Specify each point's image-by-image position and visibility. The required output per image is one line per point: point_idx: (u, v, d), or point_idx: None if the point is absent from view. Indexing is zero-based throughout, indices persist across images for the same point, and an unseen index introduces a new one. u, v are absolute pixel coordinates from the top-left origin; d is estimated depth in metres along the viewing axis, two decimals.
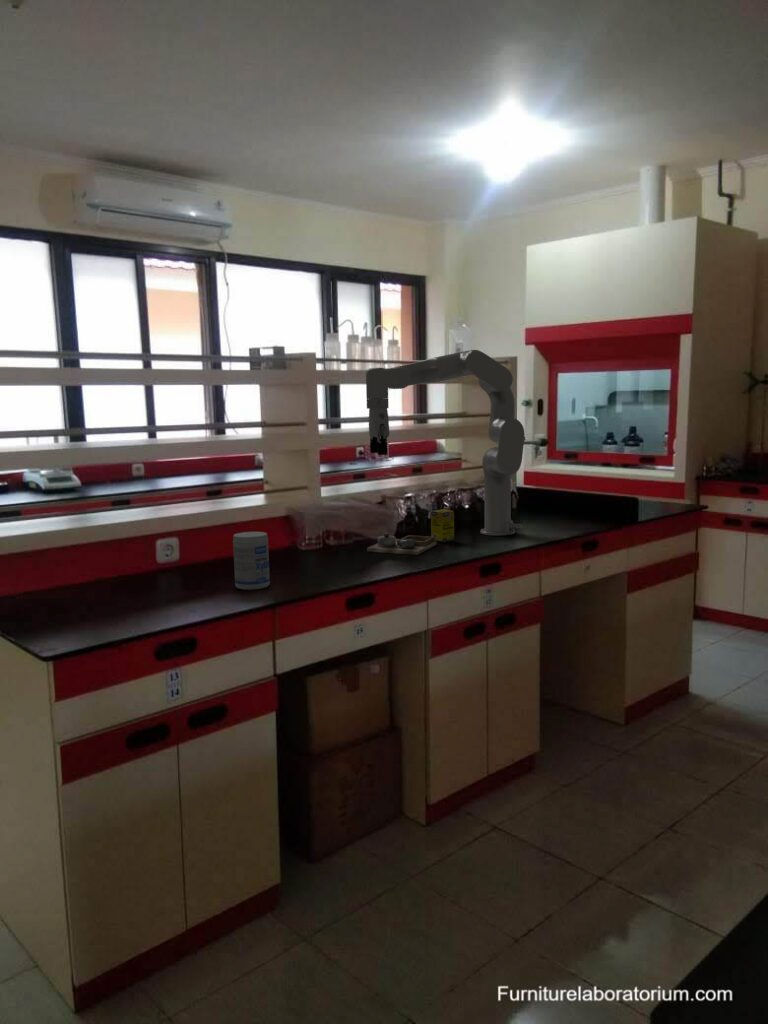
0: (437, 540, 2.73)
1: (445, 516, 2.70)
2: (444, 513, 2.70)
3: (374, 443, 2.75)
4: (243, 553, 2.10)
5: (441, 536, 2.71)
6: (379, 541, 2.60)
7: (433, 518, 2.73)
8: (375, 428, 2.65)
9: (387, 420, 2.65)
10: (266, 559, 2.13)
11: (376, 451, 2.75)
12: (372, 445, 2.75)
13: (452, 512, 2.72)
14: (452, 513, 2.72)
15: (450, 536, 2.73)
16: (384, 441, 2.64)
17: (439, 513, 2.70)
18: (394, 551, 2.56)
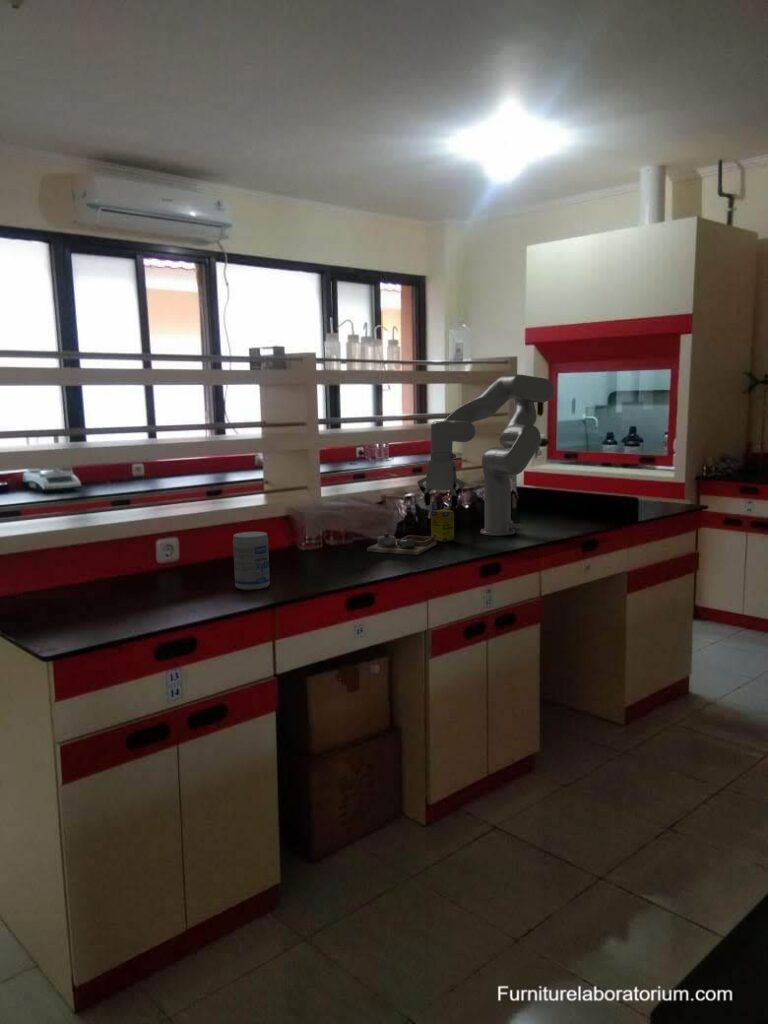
0: (437, 540, 2.73)
1: (445, 516, 2.70)
2: (444, 513, 2.70)
3: (428, 495, 2.74)
4: (243, 553, 2.10)
5: (441, 536, 2.71)
6: (379, 541, 2.60)
7: (433, 518, 2.73)
8: (450, 481, 2.68)
9: None
10: (266, 559, 2.13)
11: (429, 503, 2.75)
12: (427, 498, 2.73)
13: (452, 512, 2.72)
14: (452, 513, 2.72)
15: (450, 536, 2.73)
16: (458, 493, 2.70)
17: (439, 513, 2.70)
18: (394, 551, 2.56)
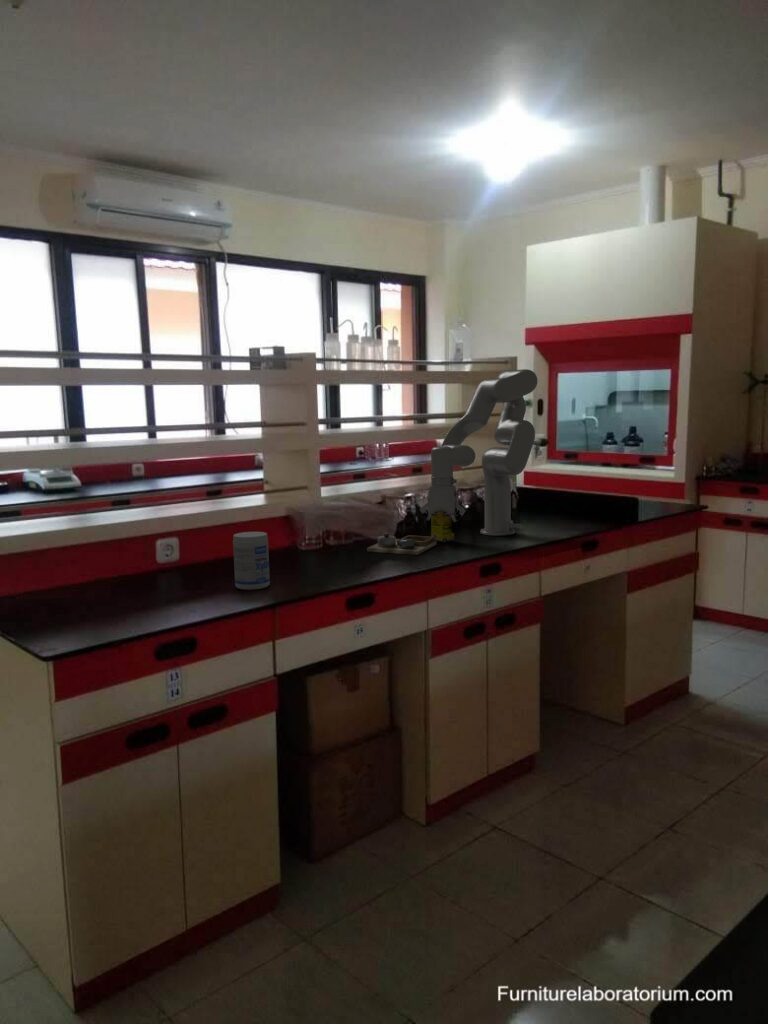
0: (437, 540, 2.73)
1: (445, 516, 2.70)
2: (444, 513, 2.70)
3: None
4: (243, 553, 2.10)
5: (441, 536, 2.71)
6: (379, 541, 2.60)
7: (433, 518, 2.73)
8: (451, 506, 2.69)
9: None
10: (266, 559, 2.13)
11: None
12: None
13: None
14: None
15: (450, 536, 2.73)
16: (458, 519, 2.72)
17: (439, 513, 2.70)
18: (394, 551, 2.56)
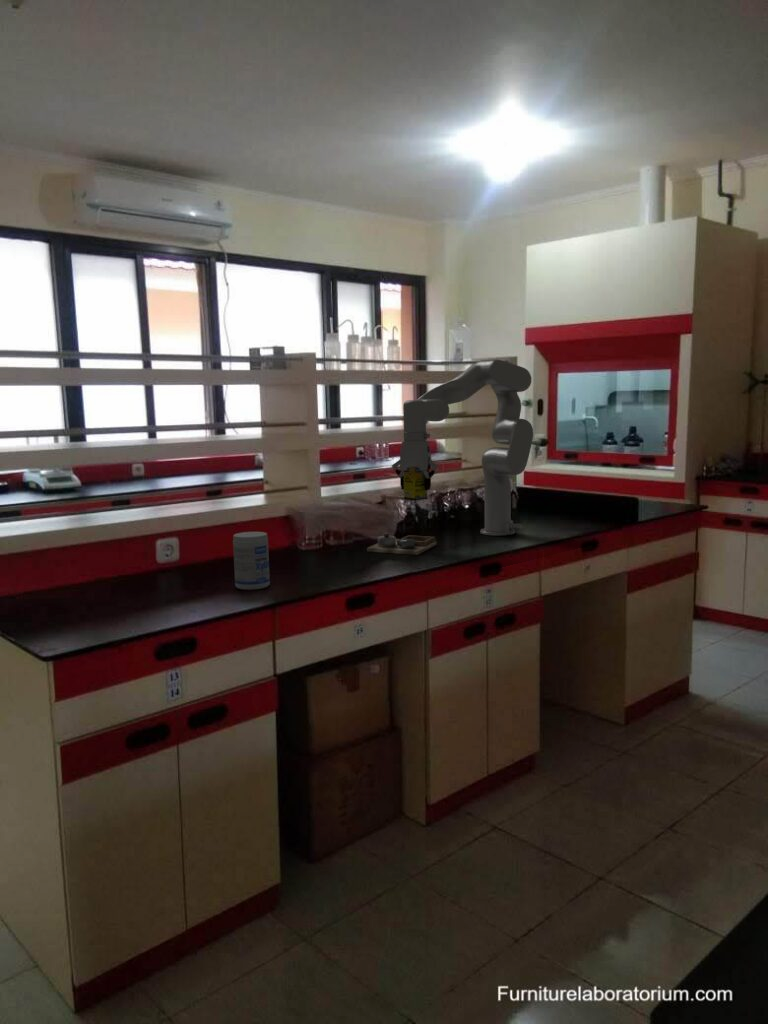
0: (409, 497, 2.62)
1: (418, 472, 2.60)
2: (417, 469, 2.59)
3: None
4: (243, 553, 2.10)
5: (414, 493, 2.60)
6: (379, 541, 2.60)
7: (405, 475, 2.62)
8: (424, 462, 2.59)
9: (430, 453, 2.62)
10: (266, 559, 2.13)
11: None
12: None
13: None
14: None
15: (423, 493, 2.62)
16: (431, 476, 2.61)
17: (411, 469, 2.60)
18: (394, 551, 2.56)
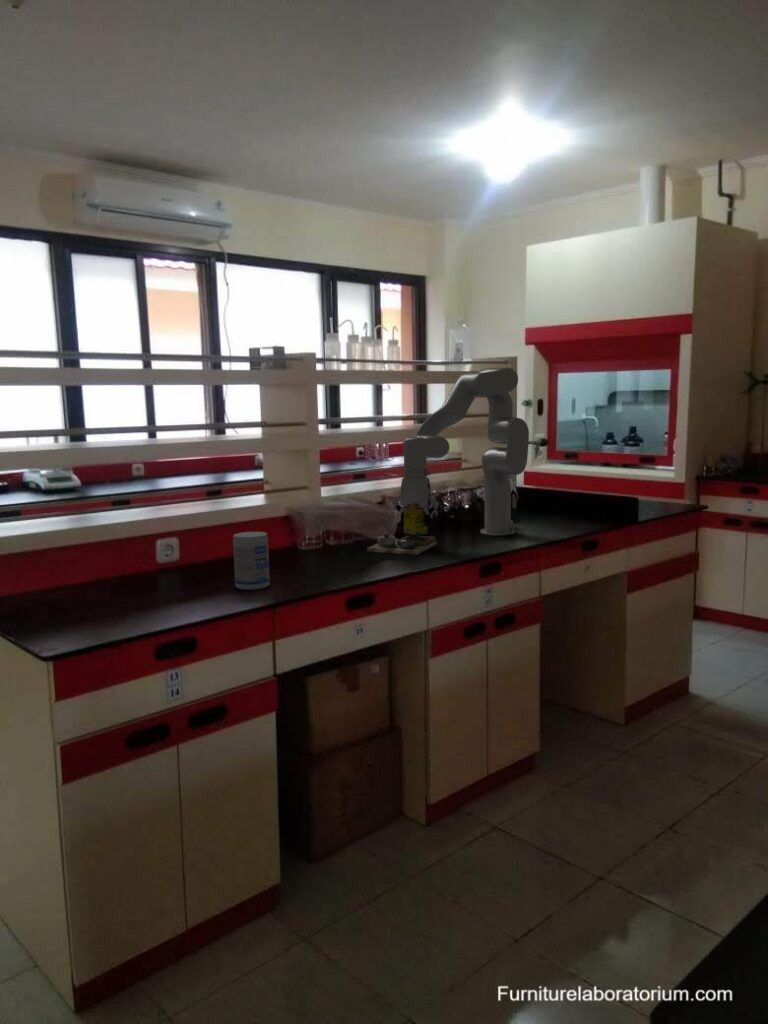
0: (410, 534, 2.64)
1: (418, 509, 2.61)
2: (417, 506, 2.61)
3: None
4: (243, 553, 2.10)
5: (414, 530, 2.62)
6: (379, 541, 2.60)
7: (406, 511, 2.64)
8: (424, 499, 2.61)
9: (430, 490, 2.64)
10: (266, 559, 2.13)
11: None
12: None
13: None
14: None
15: (423, 530, 2.64)
16: (431, 512, 2.63)
17: (412, 506, 2.61)
18: (394, 551, 2.56)
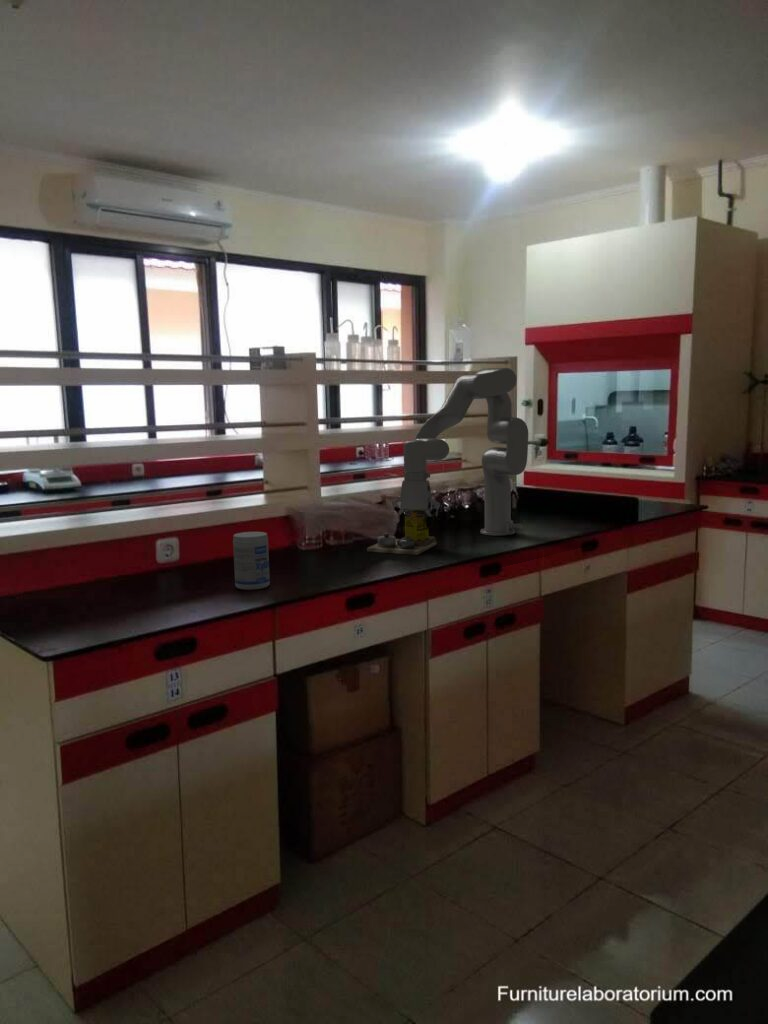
0: None
1: (419, 517, 2.62)
2: (418, 514, 2.62)
3: (403, 516, 2.67)
4: (243, 553, 2.10)
5: (415, 538, 2.62)
6: (379, 541, 2.60)
7: (407, 519, 2.65)
8: (424, 501, 2.61)
9: (430, 492, 2.64)
10: (266, 559, 2.13)
11: (404, 524, 2.68)
12: (402, 518, 2.66)
13: (426, 513, 2.64)
14: None
15: (424, 537, 2.65)
16: (433, 514, 2.63)
17: (413, 514, 2.62)
18: (394, 551, 2.56)
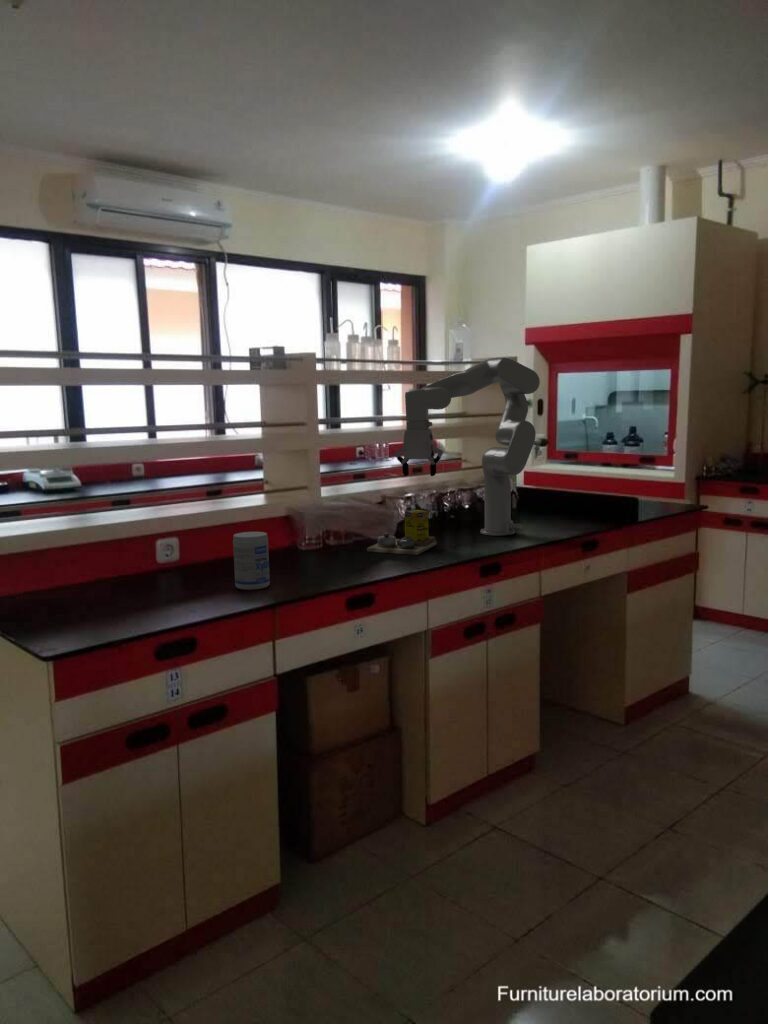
0: None
1: (419, 517, 2.62)
2: (418, 514, 2.62)
3: (406, 466, 2.69)
4: (243, 553, 2.10)
5: (415, 538, 2.62)
6: (379, 541, 2.60)
7: (407, 519, 2.65)
8: (427, 450, 2.63)
9: None
10: (266, 559, 2.13)
11: (407, 474, 2.70)
12: (406, 468, 2.68)
13: (426, 513, 2.64)
14: (427, 514, 2.64)
15: (424, 537, 2.65)
16: None
17: (413, 514, 2.62)
18: (394, 551, 2.56)
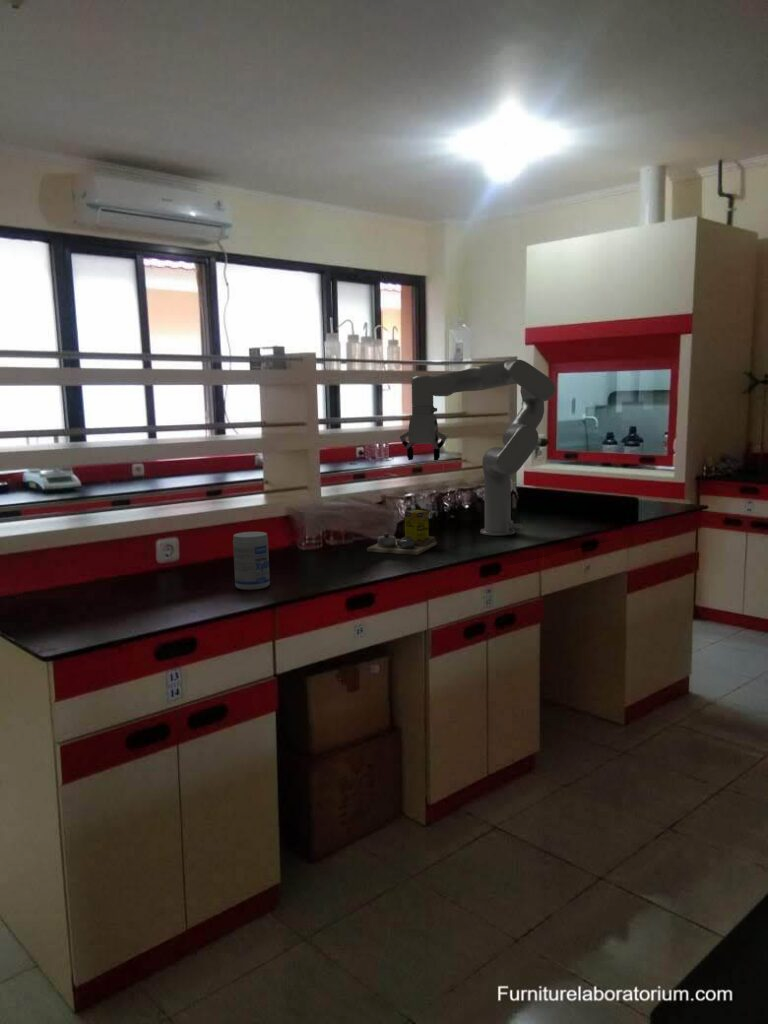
0: None
1: (419, 517, 2.62)
2: (418, 514, 2.62)
3: (411, 450, 2.78)
4: (243, 553, 2.10)
5: (415, 538, 2.62)
6: (379, 541, 2.60)
7: (407, 519, 2.65)
8: (431, 434, 2.72)
9: (437, 426, 2.75)
10: (266, 559, 2.13)
11: (412, 458, 2.79)
12: (410, 452, 2.77)
13: (426, 513, 2.64)
14: (427, 514, 2.64)
15: (424, 537, 2.65)
16: (440, 447, 2.73)
17: (413, 514, 2.62)
18: (394, 551, 2.56)
